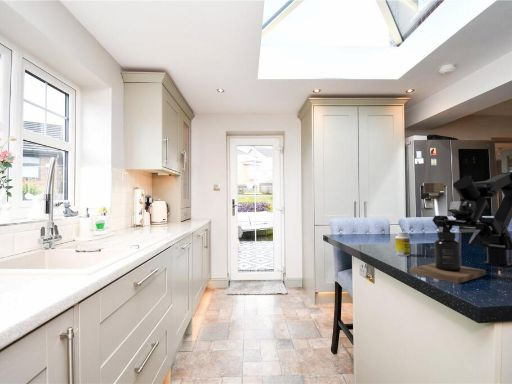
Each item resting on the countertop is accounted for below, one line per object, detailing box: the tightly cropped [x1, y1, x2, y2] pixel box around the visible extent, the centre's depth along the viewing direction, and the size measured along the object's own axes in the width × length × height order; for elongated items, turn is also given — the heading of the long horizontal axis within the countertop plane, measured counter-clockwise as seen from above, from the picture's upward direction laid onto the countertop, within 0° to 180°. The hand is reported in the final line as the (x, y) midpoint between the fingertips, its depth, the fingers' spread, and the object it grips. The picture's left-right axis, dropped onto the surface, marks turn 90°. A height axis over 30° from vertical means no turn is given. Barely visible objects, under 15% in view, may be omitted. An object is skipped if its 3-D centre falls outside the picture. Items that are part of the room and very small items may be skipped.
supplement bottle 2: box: [433, 231, 462, 271], centre depth 88 cm, size 7×7×12 cm
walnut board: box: [409, 262, 487, 285], centre depth 88 cm, size 18×14×2 cm
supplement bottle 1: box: [394, 231, 411, 257], centre depth 120 cm, size 6×6×10 cm
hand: (454, 243), depth 90 cm, fingers open, 9 cm apart
